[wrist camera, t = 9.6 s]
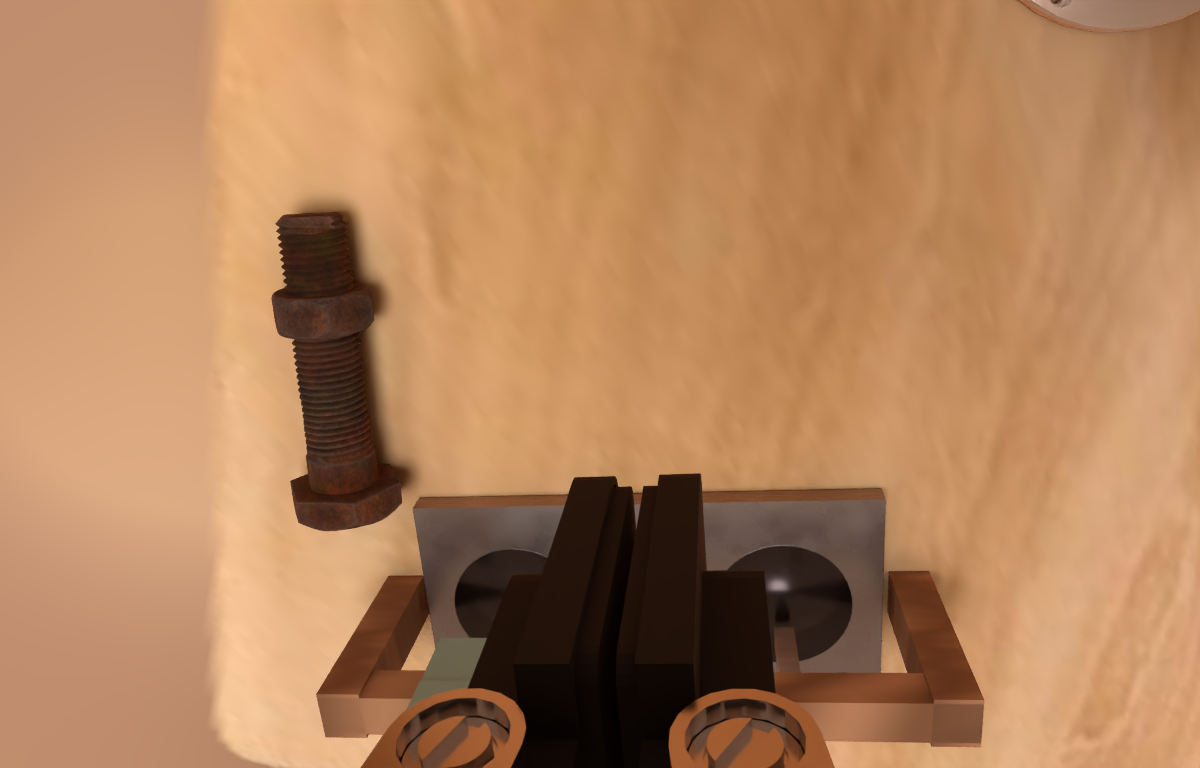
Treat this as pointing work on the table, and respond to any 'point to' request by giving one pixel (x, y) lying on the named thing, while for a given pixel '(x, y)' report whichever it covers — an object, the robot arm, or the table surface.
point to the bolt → (331, 376)
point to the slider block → (449, 667)
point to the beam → (835, 700)
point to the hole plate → (733, 542)
